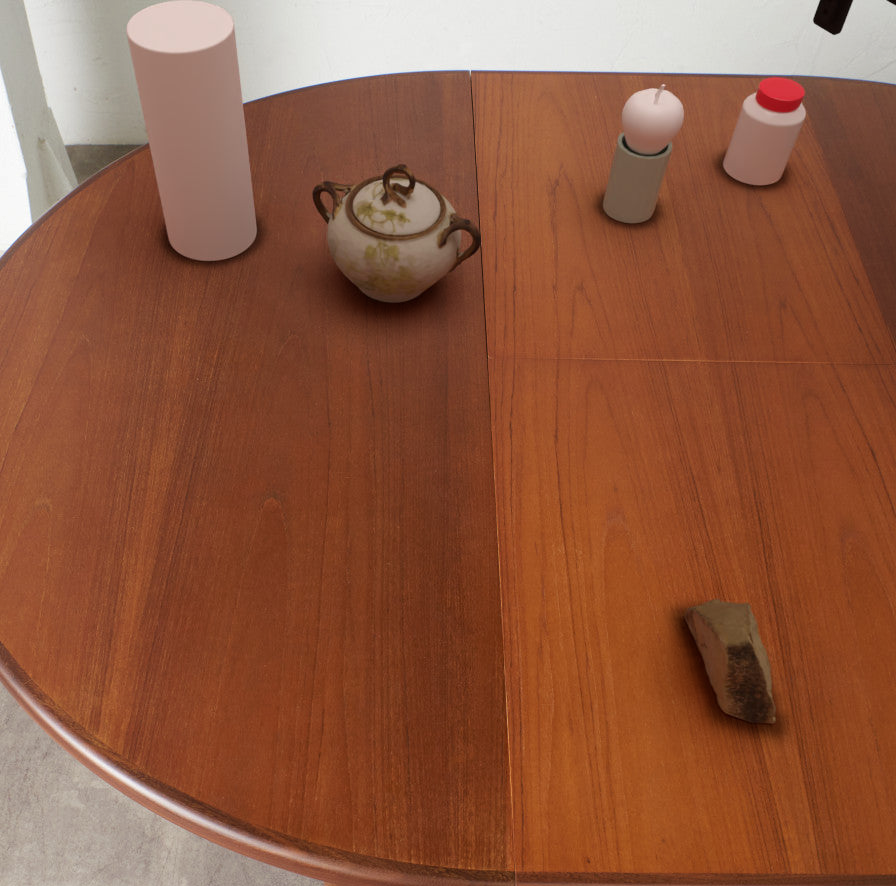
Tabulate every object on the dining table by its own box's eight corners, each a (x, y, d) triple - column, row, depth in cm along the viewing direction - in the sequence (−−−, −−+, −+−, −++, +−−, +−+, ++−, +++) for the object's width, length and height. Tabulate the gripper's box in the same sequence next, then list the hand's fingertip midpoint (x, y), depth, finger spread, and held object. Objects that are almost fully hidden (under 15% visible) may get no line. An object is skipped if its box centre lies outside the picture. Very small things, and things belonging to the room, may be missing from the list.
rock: (658, 583, 82) (651, 674, 76) (743, 544, 77) (744, 639, 70) (734, 650, 86) (734, 743, 79) (821, 617, 80) (829, 715, 73)
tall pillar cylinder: (152, 248, 112) (105, 39, 92) (194, 198, 118) (159, -9, 98) (232, 270, 110) (203, 60, 90) (271, 218, 116) (251, 10, 96)
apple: (621, 164, 109) (637, 99, 103) (609, 130, 114) (624, 65, 107) (680, 163, 110) (700, 98, 103) (666, 129, 114) (684, 65, 107)
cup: (632, 187, 121) (649, 122, 114) (664, 214, 118) (683, 149, 111) (592, 201, 119) (606, 136, 112) (623, 229, 116) (640, 164, 109)
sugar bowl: (493, 263, 112) (509, 149, 100) (451, 344, 103) (463, 230, 91) (341, 222, 116) (338, 108, 104) (289, 297, 107) (279, 182, 95)
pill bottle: (773, 192, 121) (805, 112, 112) (714, 174, 123) (741, 94, 114) (789, 162, 125) (821, 83, 116) (732, 145, 127) (760, 65, 118)
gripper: (905, -156, 75) (825, 55, 89) (1050, -194, 80) (953, 11, 94) (835, -185, 79) (769, 21, 93) (978, -220, 84) (895, -19, 98)
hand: (862, 16), depth 93 cm, fingers open, 9 cm apart
